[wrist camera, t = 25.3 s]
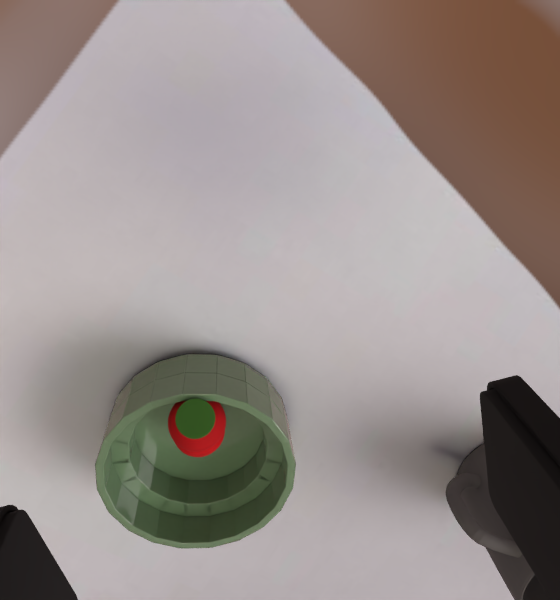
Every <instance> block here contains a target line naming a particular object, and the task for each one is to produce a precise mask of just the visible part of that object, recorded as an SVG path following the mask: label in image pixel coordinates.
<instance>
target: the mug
mask: <svg viewBox="0 0 560 600" xmlns="http://www.w3.org/2000/svg"><path fill="white" fill-rule="evenodd" d="M446 497H447V501H448V504H449V506H450V508H451V511H452V513H453V514H454V516H455V518H456V520H457V522H458V523H459V524H460V526H461V527H462V529H463V530H464V531H465V532H466V533H467V535H468V536H469V537H470V538H471V539H473V540H474V541H475V542H477V543H478V544H480V545H482V546H484V547H486V549H487V551H488V553H489V555H490V556H491V558H492V560H493V562H494V564H495V566H496V567H497V569H498V571H499V573H500V575H501V576H502V578H503V580H504V582H505V584H506V585H507V587H508V589H509V591H510V593H511V594H512V596H513V598H514V599H515V600H550V599H549V597H548V595H547V594H546V592H545V590H544V589H543V587H542V585H541V584H540V582H539V581H538V579H537V577H536V576H535V574H534V572H533V571H532V569H531V567H530V566H529V564H528V562H527V561H526V559H525V557H524V556H523V554H522V553H521V551H520V549H519V548H518V546H517V544H516V543H515V541H514V539H513V538H512V536H511V534H510V533H509V531H508V529H507V528H506V526H505V525H504V523H503V521H502V520H501V518H500V516H499V515H498V513H497V511H496V510H495V508H494V506H493V503H492V501H491V498H490V494H489V489H488V478H487V467H486V457H485V446H484V444H482V445H481V446H479V447H478V448H476V449H475V450H474V451H473V452H472V453H470V455H469V456H468V457H467V458H466V459H465V460H464V462H463V463H462V465H461V467H460V469H459V472H458V475H457V476H456V477H455V478H453V479H452V480H451V481H450V482H449V484H448V486H447V488H446Z"/></svg>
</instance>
